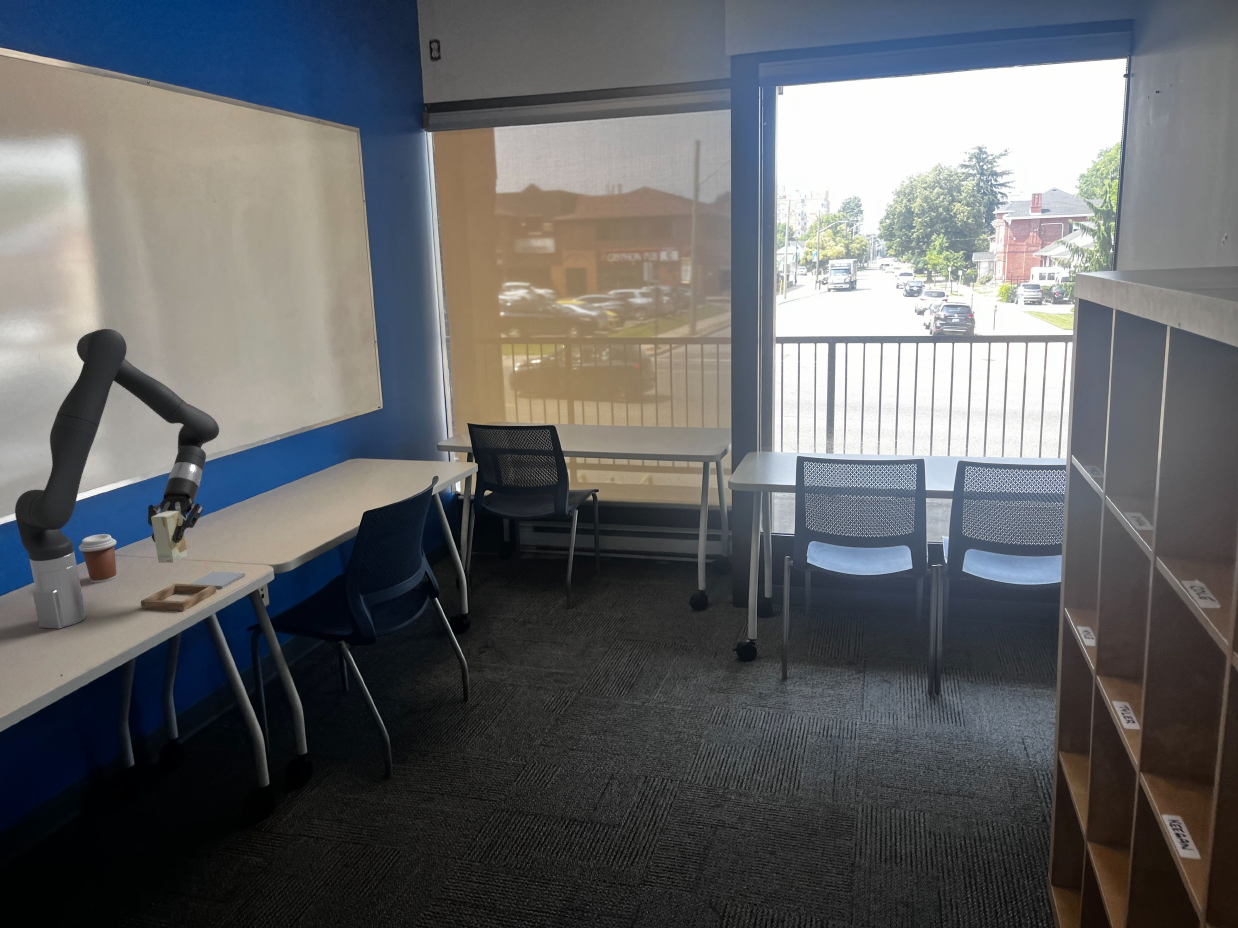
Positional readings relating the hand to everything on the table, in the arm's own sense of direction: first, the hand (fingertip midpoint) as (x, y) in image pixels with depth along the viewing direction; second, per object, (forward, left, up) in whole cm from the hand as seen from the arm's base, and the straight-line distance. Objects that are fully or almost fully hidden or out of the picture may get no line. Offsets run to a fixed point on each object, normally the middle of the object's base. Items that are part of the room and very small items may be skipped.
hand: (165, 541), depth 223 cm
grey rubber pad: (+16, -1, -17) cm, 23 cm away
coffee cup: (+14, +34, -17) cm, 41 cm away
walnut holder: (+2, 0, -17) cm, 17 cm away
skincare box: (+2, 0, -6) cm, 6 cm away
